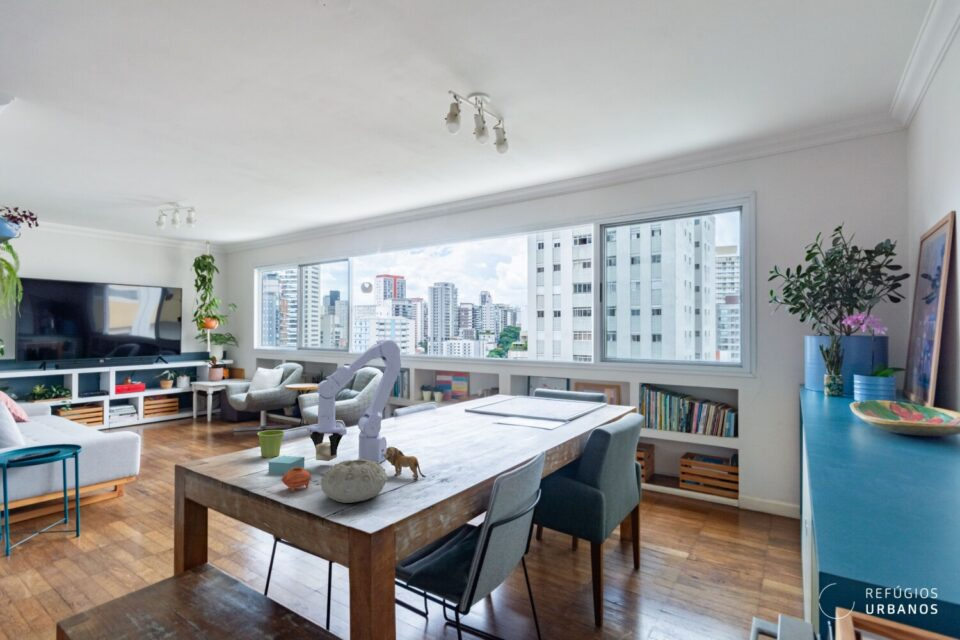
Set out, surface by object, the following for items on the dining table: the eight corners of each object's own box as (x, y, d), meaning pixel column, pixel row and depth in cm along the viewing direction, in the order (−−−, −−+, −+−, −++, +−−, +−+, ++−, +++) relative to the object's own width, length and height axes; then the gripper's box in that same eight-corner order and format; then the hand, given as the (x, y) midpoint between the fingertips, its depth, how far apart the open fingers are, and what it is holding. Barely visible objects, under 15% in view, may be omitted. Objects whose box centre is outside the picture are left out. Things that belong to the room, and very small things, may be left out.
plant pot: (285, 451, 183) (285, 429, 183) (283, 458, 174) (283, 434, 175) (258, 453, 180) (258, 430, 181) (255, 460, 171) (255, 435, 172)
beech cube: (336, 457, 167) (336, 443, 167) (328, 461, 162) (328, 446, 162) (324, 456, 168) (324, 442, 168) (315, 459, 164) (315, 445, 164)
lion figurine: (381, 476, 154) (381, 448, 154) (389, 471, 159) (390, 444, 159) (421, 481, 149) (422, 452, 149) (429, 476, 154) (429, 448, 154)
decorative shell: (307, 500, 131) (307, 464, 131) (355, 483, 146) (355, 450, 146) (353, 514, 122) (354, 474, 122) (399, 494, 137) (400, 458, 137)
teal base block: (304, 468, 162) (304, 456, 162) (290, 475, 154) (290, 463, 154) (283, 467, 164) (283, 455, 164) (268, 474, 156) (268, 461, 156)
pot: (307, 481, 146) (309, 461, 145) (311, 495, 140) (313, 474, 138) (279, 484, 143) (281, 463, 142) (281, 498, 136) (283, 477, 135)
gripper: (301, 416, 164) (301, 455, 163) (338, 418, 160) (338, 458, 159) (314, 412, 170) (313, 450, 170) (349, 414, 166) (349, 453, 166)
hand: (326, 454), depth 165 cm, fingers closed on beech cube, 5 cm apart
